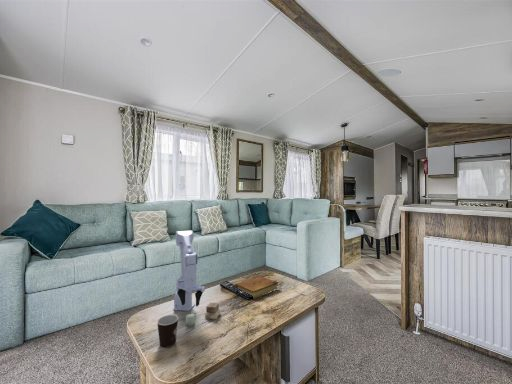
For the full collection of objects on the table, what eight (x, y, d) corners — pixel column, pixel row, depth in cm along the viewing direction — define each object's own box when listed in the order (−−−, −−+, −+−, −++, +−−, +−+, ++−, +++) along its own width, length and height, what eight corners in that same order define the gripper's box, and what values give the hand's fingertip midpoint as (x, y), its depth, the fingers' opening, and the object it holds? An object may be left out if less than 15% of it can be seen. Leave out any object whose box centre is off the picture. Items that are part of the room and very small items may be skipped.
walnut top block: (206, 312, 125) (206, 306, 125) (210, 308, 130) (210, 302, 130) (215, 313, 124) (215, 307, 124) (218, 308, 129) (218, 303, 129)
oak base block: (205, 318, 125) (205, 312, 125) (209, 313, 131) (209, 307, 131) (215, 319, 123) (215, 313, 124) (219, 314, 129) (219, 308, 129)
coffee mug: (165, 351, 97) (165, 327, 97) (152, 345, 102) (152, 321, 102) (187, 337, 107) (187, 315, 107) (174, 332, 112) (175, 310, 112)
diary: (259, 283, 176) (259, 275, 176) (278, 290, 162) (278, 282, 162) (235, 291, 160) (235, 283, 160) (253, 300, 147) (253, 290, 147)
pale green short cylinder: (184, 325, 117) (184, 317, 117) (188, 321, 121) (188, 313, 121) (192, 326, 116) (192, 318, 116) (196, 322, 121) (196, 314, 121)
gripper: (173, 279, 117) (173, 307, 116) (200, 281, 114) (200, 309, 114) (180, 275, 124) (180, 301, 123) (206, 276, 121) (206, 303, 121)
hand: (190, 305), depth 119 cm, fingers open, 7 cm apart
